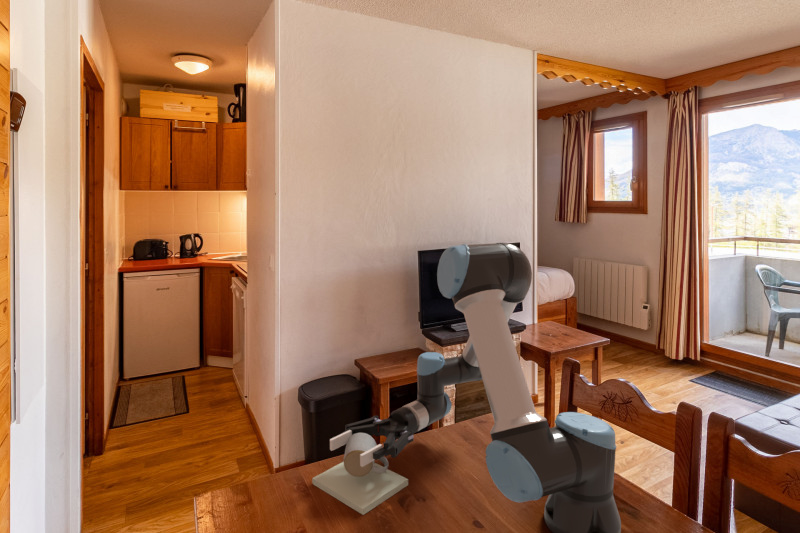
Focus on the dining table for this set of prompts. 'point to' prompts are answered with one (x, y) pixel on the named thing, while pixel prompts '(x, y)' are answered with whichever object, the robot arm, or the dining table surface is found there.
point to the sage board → (360, 487)
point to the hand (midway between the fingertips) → (345, 452)
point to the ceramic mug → (352, 455)
